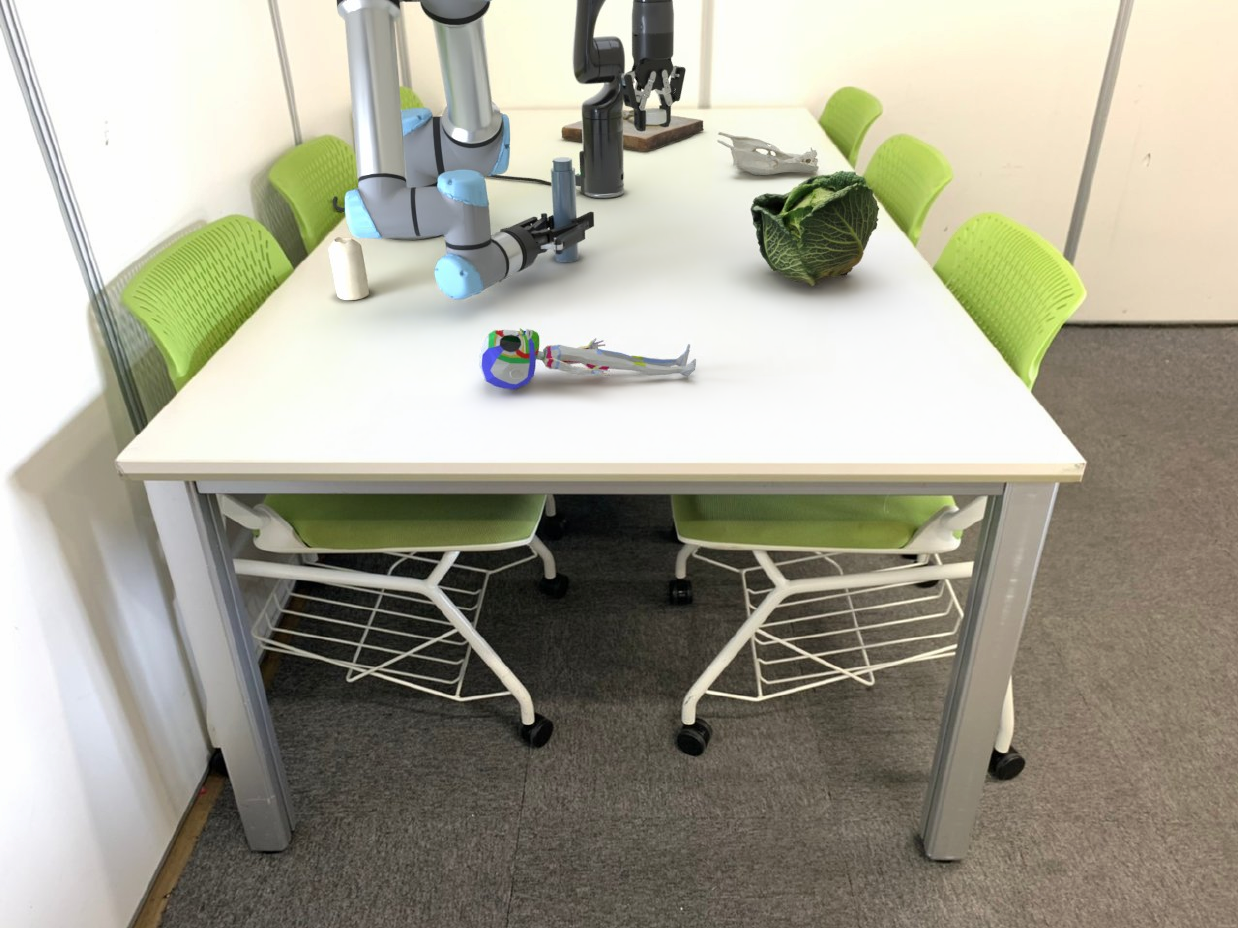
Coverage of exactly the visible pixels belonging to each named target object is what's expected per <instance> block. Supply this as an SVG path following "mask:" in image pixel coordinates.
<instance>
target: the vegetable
mask: <svg viewBox="0 0 1238 928" xmlns="http://www.w3.org/2000/svg"><path fill="white" fill-rule="evenodd" d="M856 172H857V171H844V170H840V171H835V172H833V173H832V174H821V175H817V176H812V177H809V178H808V179H805V180H804V181H802V182H801V183H799V184H798V185H797V186H794V187H793V188H792V189H791V190H790V191H789V192H787V193H784V194H779V193H769V192H766V193H764V194H761V195H759V196H756V197H754V199H753V200H752V204H751V207H750V208H749V209H750V213H751V217H752V225H753V226H754V228H755V229H756V232H755V236H756V238H757V244H758V246H759V253H760V255H761V257H762V258H763V259H764V260H765V262H766V264H767V265H768V267H769V268H770V269H771V270H772V271H773V272H779V273H780V274H781V275H782V276H783V277H786V278H788V279H789V280H791V281H795V282H797V283H806V284H809V285H810V286H811V287H814V286H815V285H819V282H818V280H820V279H822V278H826V277H827V278H828V277H833V278H837V277H838V276H848V273H850V272H852V270H853V269H854V267H855V266H857V265H858V264H859V263H860V262H861V261H862V259H863V256H864V254H865V253H864V252H865V250H866V248H867V246H868V243H869V241H870V237H871V236H872V233H873V232H874V231H875V230H876V229H877V227H878V221H879V219H880V218H878V216H879V210H880V207H879V205H878V201H877V199H876V198H875V196H874V191H873V190H872V187H869V186H868V184H867V180H866V179H865V177H864V176H861V175H859V174H857V173H856Z"/></svg>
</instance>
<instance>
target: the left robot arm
mask: <svg viewBox="0 0 1238 928" xmlns="http://www.w3.org/2000/svg"><path fill="white" fill-rule="evenodd" d="M492 1H493V0H336V10H337V14H338V16H339V17H340V18H341V19H342V20H343V21H344V25H345V26H344V28H345V40H346V50H347V52H346V53H347V64H348V65H347V66H348V77H349V89H350V101H351V113H352V114H351V115H352V124H353V125H352V127H353V138H354V150H355V151H354V152H355V164H356V165H355V166H356V175H357V188H354V189H351V190H348V191H347V192H346V193H345V195H344V207H341V206H339V205H338V204H337V202H338V201H339V200H338V199H339V198H338V196H336V195H334V197H332V198H333V199H332V205H333V208H334V209H335V210H337V211H339V212H344V213H345V218H346V224H347V227H348V230H349V232H350V234H351V235H352V236H353V237H355V238H356V239H379V240H383V239H394V240H402V241H411V240H413V241H415V240H426V239H430V238H431V239H432V238H435V237H439V236H443V237H444V244H445V251H446V254H444V255H443V256H442V257H441V258H439V259H438V261H436V265H435V268H434V278H435V282H436V285H437V286H438V288H439V289H440V291H441V292H442V293H443V294H444V295H445V296H447V297H448V298H450V299H452V300H458V301H459V300H460V301H461V300H465V299H467V298H470V297H472V296H475V295H479V294H481V293H482V292H483V291H484V290H486V289H488V288H490V287H491V286H493V285H495V284H497V283H502V281H503V280H505V279H507V278H509V277H511V276H513V275H515V274H517V273H519V272H522V271H523V270H525V269H527V268H529V267H531V266H532V265H533V264H534V263H535V261H536V259H537V258H538V256H539V255H541V254H545V253H546V252H548V251H549V250H551V251H554V254H555V253H556V254H562V253H563V251H564V250H566V249H568V248H569V247H571V246H573V245H575V244H577V243H578V244H579V243H580V242H582V241H584V240H586V231H588V230H589V229H591V228H594V227H595V212H594V211H589V212H586V213H584V214H582V215H579V216H577V218H576V219H574V220H572V221H571V224H568V225H565V226H562V227H559V228H555V229H554V222H553V214H552V215H549V216H548V213H545V212H544V213H543V212H542V213H540V218H539V217H538V216H532V217H529V218H526V219H524V220H522V221H520V222H517V223H515V224H514V225H511V226H508V227H504V228H500V229H499V231H497V232H495V233H493V234H492V229H491V218H490V203H489V197H488V196H489V195H488V190H487V182H486V179H485V177H484V176H491V175H504V174H505V173H506V172H507V171H508V169H509V165H510V157H511V156H510V155H511V147H510V145H511V125H510V123H511V122H510V117H509V116H508V115H507V114H505V113H503V112H501V110H500V108H499V107H498V105H497V104H496V103H495V102H494V101H493V95H492V86H491V78H490V68H489V67H490V66H489V60H488V51H487V49H488V48H487V41H486V40H487V39H486V32H485V22H484V16H485V15H486V14H487V13H488V11H489V10H490V6H491V2H492ZM403 2H405V3H419V4H420V7H421V10H422V12H423V13H424V15H425V16H426V17H427V18H428V19H429V20H431V21H432V26H433V31H434V37H435V43H436V49H437V56H438V61H439V66H440V72H441V78H442V84H443V92H444V96H445V101H446V102H445V103H446V106H445V107H444V109H443V111H442V115H440V116H439V115H438V116H437V115H436V116H433V115H434V114H433V112H432V110H431V108H428V107H413V108H412V107H411V108H407V109H402V102H401V101H402V100H401V87H400V75H399V62H398V49H397V37H396V36H397V35H396V22H397V21H398V20H399V19H400V18H401V3H403ZM538 218H539V219H538Z"/></svg>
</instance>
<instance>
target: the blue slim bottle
mask: <svg viewBox="0 0 1238 928" xmlns="http://www.w3.org/2000/svg"><path fill="white" fill-rule="evenodd" d="M551 162H552V168H550V180H551V181H550V182H551V184H552V186H551V201H552V215H553V222H554V229H555V228H559V227H562V226H565V225H568V224H571V221H572V220H574V219H576V218H578V214H577V213H578V211H577V210H578V209H577V189H576V188H577V186H576V183H575V175H576V168H575V167H573V158H571V157H566V156H560V157H559V156H558V157H555V158H553V159H552V161H551ZM554 257H555V258H554V259H555V261H557V262H559V263H573V262H576V261H578V260H579V243H577V244H575V245H573V246H571V247H569V248H568V249H566V250H564V251H563V253H562V254H556V253H555V252H554Z"/></svg>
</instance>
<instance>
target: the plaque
mask: <svg viewBox="0 0 1238 928" xmlns="http://www.w3.org/2000/svg"><path fill="white" fill-rule="evenodd" d="M704 130H705V129H704V120H702V119H698V118H693V117H685V116H679V115H671V121H670V123H669V127H661V126H660V125H659V124H655V125H649V124H646V130H645V131H642V132H641V131H637V130H636V128H635V126H634V109H630V110H629V109H623V149H625V150H632V151H640V152H648V151H654V150H656V149H659V148H662V147H663V146H664V147H665V146H667V145H670V144H672V143H676V142H680V141H682V140H684V139H687V138H691V137H692V136H694V135H696V134H698V133H700V132H704ZM561 138H562V139H563V140H568V141H573V142H581V143H583V140H582V120H579V121H577V122H573V123H569V124H567V125H564V126H562V127H561Z"/></svg>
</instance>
